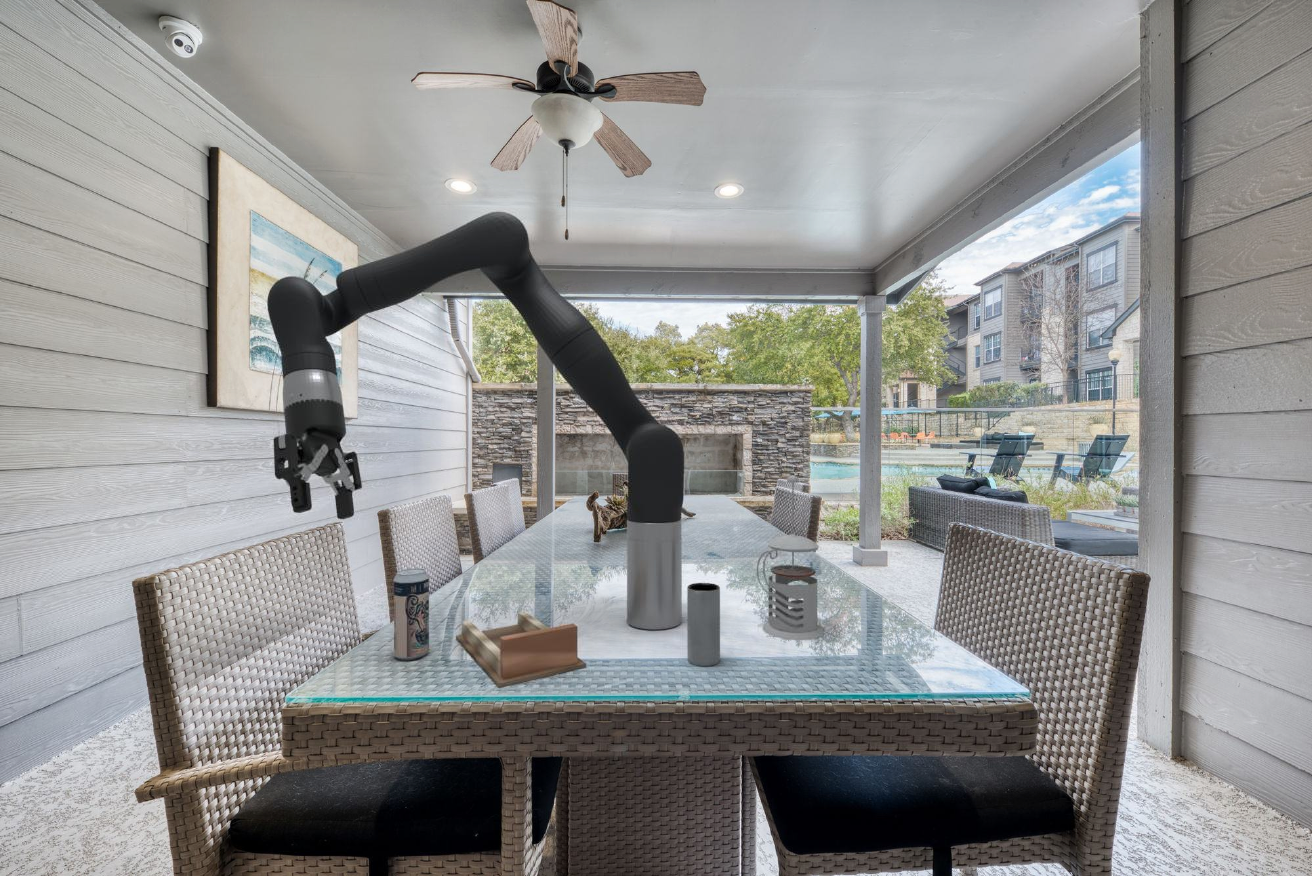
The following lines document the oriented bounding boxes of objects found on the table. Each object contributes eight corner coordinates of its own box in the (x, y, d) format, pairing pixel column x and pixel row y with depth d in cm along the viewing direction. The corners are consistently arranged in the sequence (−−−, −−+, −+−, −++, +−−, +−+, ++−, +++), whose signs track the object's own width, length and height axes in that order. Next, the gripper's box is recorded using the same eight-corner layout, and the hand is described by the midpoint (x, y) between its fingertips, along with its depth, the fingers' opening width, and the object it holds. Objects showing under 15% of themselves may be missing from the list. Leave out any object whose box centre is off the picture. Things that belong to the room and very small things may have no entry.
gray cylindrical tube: (723, 656, 83) (723, 584, 83) (715, 668, 79) (715, 592, 79) (692, 652, 85) (692, 581, 85) (683, 664, 81) (683, 589, 81)
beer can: (416, 662, 81) (416, 576, 81) (385, 660, 82) (385, 574, 82) (436, 650, 86) (436, 568, 86) (407, 648, 87) (406, 567, 87)
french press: (800, 644, 88) (800, 478, 88) (741, 626, 97) (741, 474, 97) (836, 630, 95) (836, 475, 95) (777, 614, 103) (777, 472, 103)
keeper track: (455, 638, 91) (455, 603, 91) (530, 625, 97) (530, 592, 97) (498, 687, 73) (498, 643, 73) (586, 667, 80) (586, 626, 80)
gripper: (301, 384, 78) (313, 501, 74) (368, 413, 92) (381, 513, 88) (251, 401, 79) (260, 517, 75) (324, 426, 93) (336, 526, 89)
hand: (325, 514), depth 81 cm, fingers open, 8 cm apart
